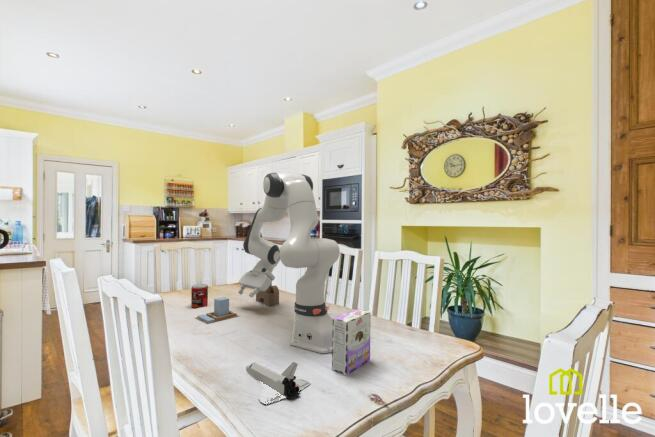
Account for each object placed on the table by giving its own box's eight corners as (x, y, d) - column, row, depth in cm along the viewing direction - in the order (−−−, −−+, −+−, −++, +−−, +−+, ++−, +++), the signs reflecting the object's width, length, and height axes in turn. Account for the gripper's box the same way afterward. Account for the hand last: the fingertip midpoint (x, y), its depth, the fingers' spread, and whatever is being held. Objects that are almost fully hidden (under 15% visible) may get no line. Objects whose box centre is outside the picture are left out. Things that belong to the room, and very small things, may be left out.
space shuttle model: (267, 361, 109) (267, 331, 109) (318, 391, 91) (319, 355, 91) (223, 377, 98) (224, 344, 98) (272, 414, 81) (273, 373, 80)
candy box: (356, 355, 114) (356, 308, 114) (370, 360, 110) (371, 311, 110) (331, 369, 103) (331, 317, 103) (346, 375, 99) (347, 321, 99)
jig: (240, 318, 152) (240, 313, 152) (206, 327, 140) (206, 321, 140) (226, 313, 160) (226, 308, 160) (194, 320, 148) (194, 315, 148)
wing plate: (214, 321, 144) (214, 319, 144) (208, 323, 142) (208, 320, 142) (203, 316, 151) (203, 314, 151) (197, 317, 148) (197, 315, 148)
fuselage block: (229, 316, 152) (229, 298, 152) (219, 318, 148) (219, 300, 148) (224, 314, 155) (224, 297, 155) (214, 316, 151) (214, 298, 151)
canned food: (188, 308, 168) (188, 286, 168) (198, 304, 176) (198, 283, 176) (200, 309, 166) (200, 287, 166) (210, 305, 174) (210, 284, 173)
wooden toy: (279, 304, 177) (280, 257, 177) (269, 306, 173) (269, 258, 173) (264, 298, 189) (265, 255, 189) (254, 300, 184) (254, 255, 184)
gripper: (245, 266, 173) (229, 288, 165) (269, 270, 159) (253, 294, 151) (253, 273, 176) (237, 295, 169) (277, 278, 162) (261, 302, 155)
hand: (244, 295), depth 160 cm, fingers open, 8 cm apart
